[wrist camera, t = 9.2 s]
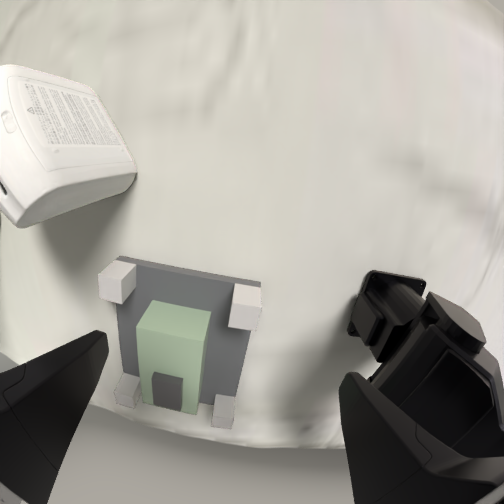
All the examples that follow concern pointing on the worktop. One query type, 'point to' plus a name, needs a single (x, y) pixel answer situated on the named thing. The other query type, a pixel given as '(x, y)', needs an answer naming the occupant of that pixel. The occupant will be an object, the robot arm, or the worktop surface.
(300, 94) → the worktop surface
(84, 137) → the photo printer
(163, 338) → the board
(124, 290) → the chassis
